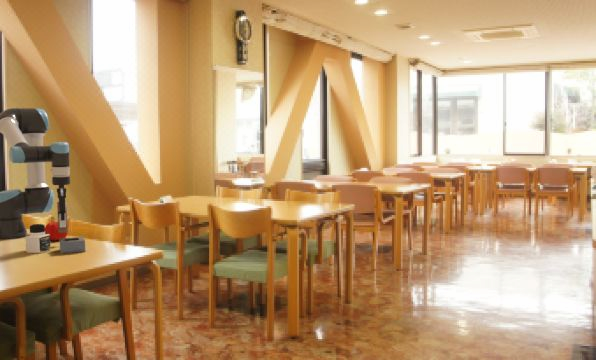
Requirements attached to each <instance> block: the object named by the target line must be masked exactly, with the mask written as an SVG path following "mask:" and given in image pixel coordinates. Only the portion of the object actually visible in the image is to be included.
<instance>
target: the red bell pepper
mask: <svg viewBox="0 0 596 360" xmlns="http://www.w3.org/2000/svg"><path fill="white" fill-rule="evenodd" d="M44 234H50V241H59V239H60V238H67V235H68V232H66V233H58V221H52V222H51V223H50V222H49V223H47V224H46V225H45V233H44Z"/></svg>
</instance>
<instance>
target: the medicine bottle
mask: <svg viewBox="0 0 596 360" xmlns="http://www.w3.org/2000/svg"><path fill="white" fill-rule="evenodd" d="M45 227H46V225H45V224H43V223H34V224H31V225H30V226H29V235H28V236H27V235H26V236H24V237H25V253H28V254H43V253H45V252H49V251H50V250H51V240H50V234H45Z"/></svg>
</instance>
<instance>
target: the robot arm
mask: <svg viewBox="0 0 596 360" xmlns="http://www.w3.org/2000/svg"><path fill="white" fill-rule="evenodd" d="M48 117H49V116H48V114H47V112H46V111H45V110H44V109H42V108H35V107H34V108H24V107H22V108H20V107H19V108H18V107H17V108H16V107H12V108H7V109H5V110H3V111H2V112H0V133H1V134H2V135H3V137H4V138H5V140H6V142H7V144H8V145H9V151H8V152H9V153H8V156H9V160H10V162H11V163H13V164H25V165H26V167H25V168H26V179H27V184H26V185H25V187H24V191H22V190H21V189H20V188H15V189H14V188H13V189H7V190H2V191H0V239H1V240H3V239H4V240H5V239H16V238H23V237H26V236H27V235H28V230H27V228H26V226H25V223H24V221H23V215H31V214H43V213H48V212H50V211H51V210H52V209H53V207H54V202H55V195H54V194H55V193H54V191H53V189H50V186H49V184H47V183H46V181H47V180H46V168H45V167H46V165H45V163H51V168H50V172H51V175H52V177H51V178H52V179H51V181H52V182H51V184H52V185H53V186H58V188H56V193H57V199H58V202H59V209H60V211H59V212H58V211H57V215H58V214H59V220H60V228H61V227H66V210H65V202H66V198H67V188H66V187H65V186H68V185H70V184H71V177H70V175H71V169H70V168H71V167H70V147H69V145H70V144H69V143H68V142H66V141H65V142H64V141H62V142H61V141H60V142H58V141H57V142H51V144H50V145H44V136H46V134H47V133H46V132H48V131H49V130H50V121H49V118H48Z"/></svg>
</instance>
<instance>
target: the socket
mask: <svg viewBox="0 0 596 360" xmlns="http://www.w3.org/2000/svg"><path fill="white" fill-rule="evenodd" d="M58 241H59V254H60V255H63V254H74V253H85V252H86V240H85V237H84V236H77V237H76V236H75V237H73V236H72V237H66V238H60V239H59V240H58Z"/></svg>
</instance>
